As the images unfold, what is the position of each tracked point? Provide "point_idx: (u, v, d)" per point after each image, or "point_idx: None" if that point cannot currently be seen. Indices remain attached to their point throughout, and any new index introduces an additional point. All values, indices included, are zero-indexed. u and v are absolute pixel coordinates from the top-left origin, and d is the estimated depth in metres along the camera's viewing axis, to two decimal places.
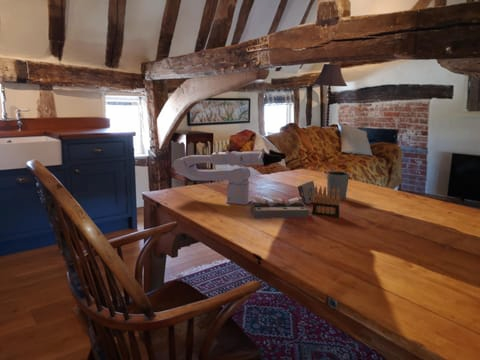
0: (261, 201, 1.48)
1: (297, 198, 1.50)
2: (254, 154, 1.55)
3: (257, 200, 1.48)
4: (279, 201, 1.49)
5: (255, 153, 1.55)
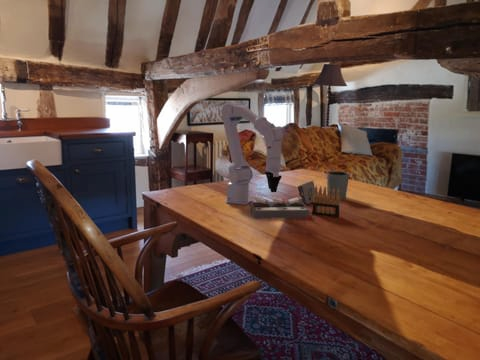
0: (261, 201, 1.48)
1: (297, 198, 1.50)
2: (278, 162, 1.44)
3: (257, 200, 1.48)
4: (279, 201, 1.49)
5: (279, 162, 1.44)
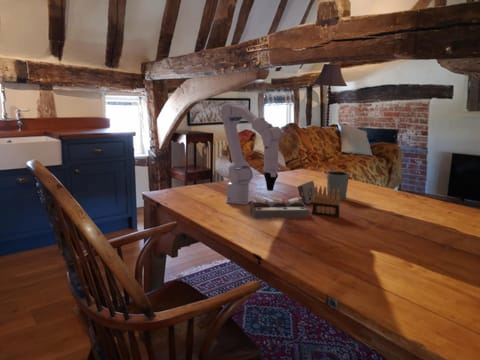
0: (261, 201, 1.48)
1: (297, 198, 1.50)
2: (276, 162, 1.44)
3: (257, 200, 1.48)
4: (279, 201, 1.49)
5: (277, 163, 1.44)
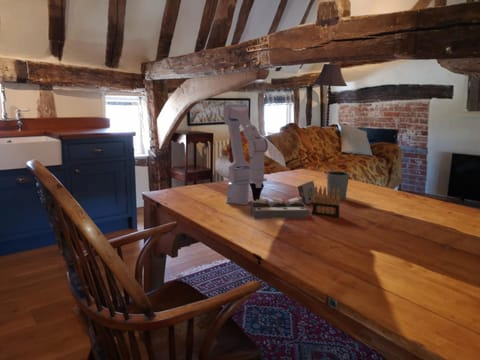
0: (261, 201, 1.48)
1: (297, 198, 1.50)
2: (262, 173, 1.45)
3: (257, 201, 1.48)
4: (279, 201, 1.49)
5: (262, 173, 1.45)
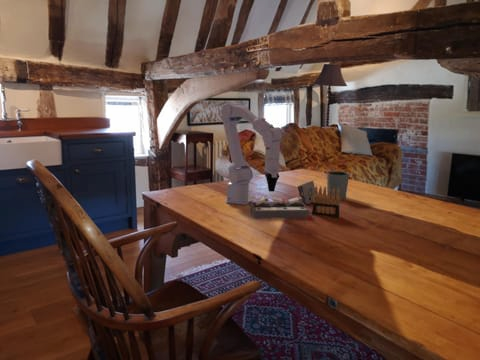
0: (261, 202, 1.48)
1: (297, 198, 1.50)
2: (277, 163, 1.44)
3: (257, 203, 1.48)
4: (279, 201, 1.49)
5: (278, 163, 1.45)
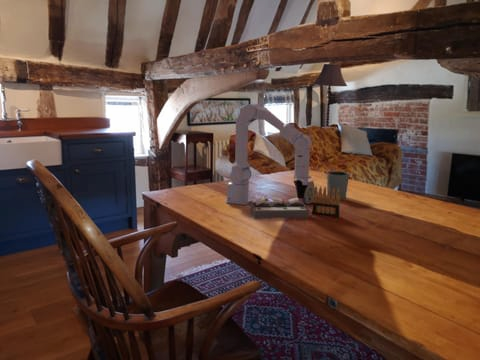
0: (261, 202, 1.48)
1: (297, 198, 1.50)
2: (307, 170, 1.46)
3: (257, 203, 1.48)
4: (279, 201, 1.49)
5: (308, 171, 1.46)
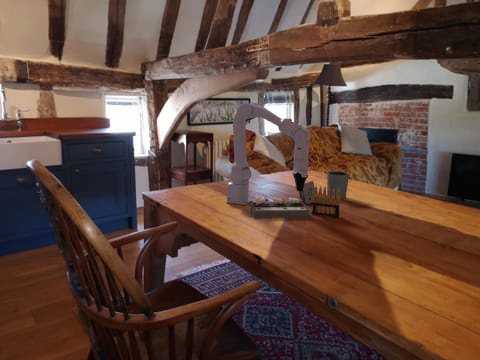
0: (261, 201, 1.48)
1: (297, 199, 1.50)
2: (306, 163, 1.46)
3: (257, 203, 1.48)
4: (279, 201, 1.49)
5: (307, 163, 1.46)
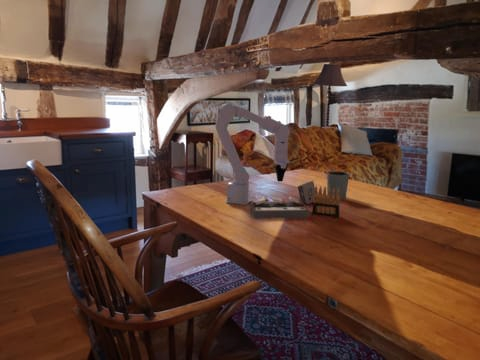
0: (261, 201, 1.48)
1: (298, 200, 1.51)
2: (285, 155, 1.60)
3: (257, 203, 1.48)
4: (279, 201, 1.49)
5: (286, 156, 1.60)
